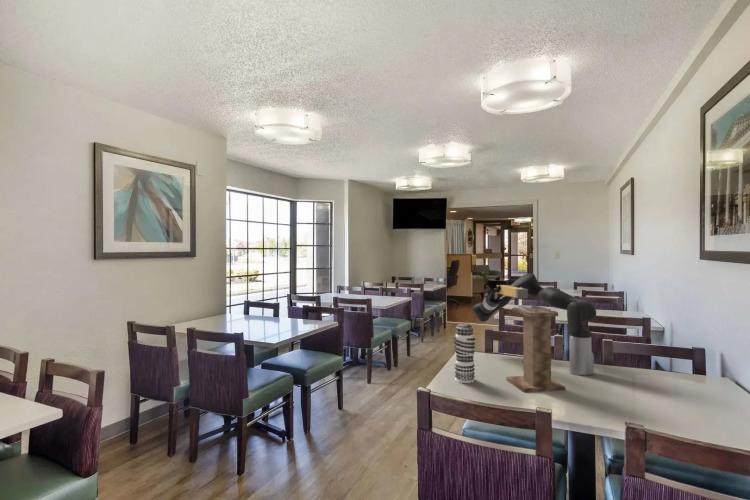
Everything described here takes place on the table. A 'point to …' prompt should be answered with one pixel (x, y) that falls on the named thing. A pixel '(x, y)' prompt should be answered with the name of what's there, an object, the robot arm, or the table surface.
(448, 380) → the table surface
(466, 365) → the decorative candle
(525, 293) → the tan rectangular block
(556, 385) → the stand
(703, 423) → the table surface
